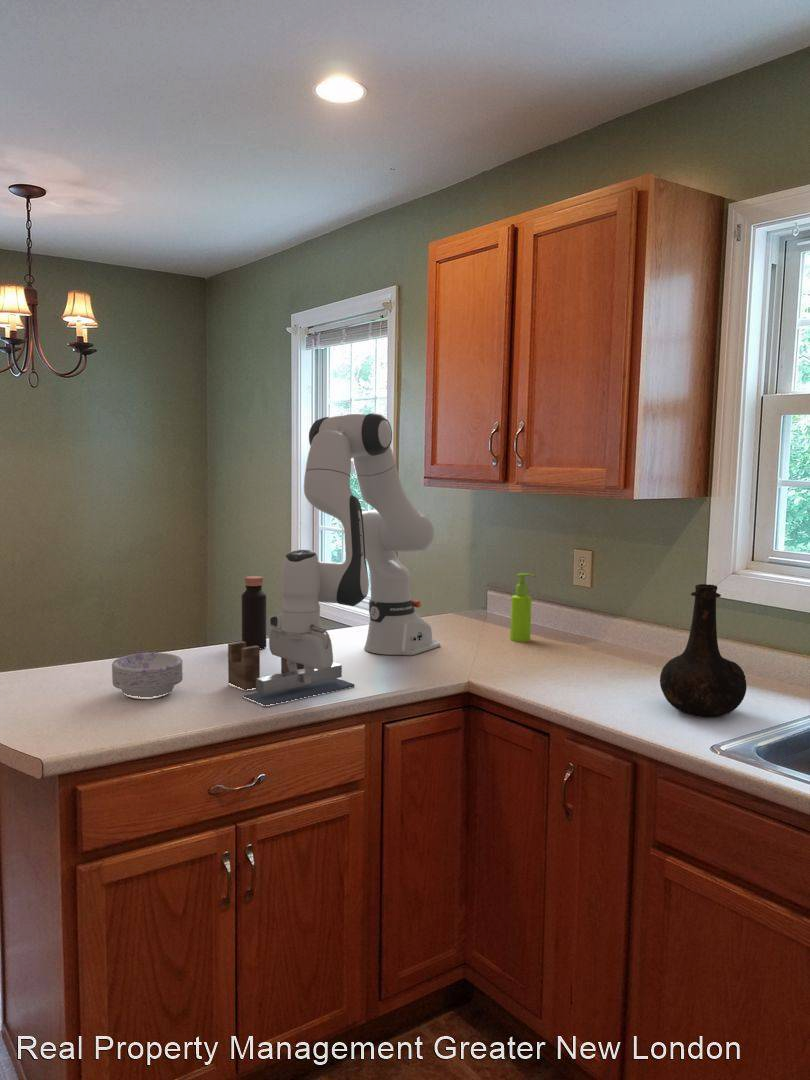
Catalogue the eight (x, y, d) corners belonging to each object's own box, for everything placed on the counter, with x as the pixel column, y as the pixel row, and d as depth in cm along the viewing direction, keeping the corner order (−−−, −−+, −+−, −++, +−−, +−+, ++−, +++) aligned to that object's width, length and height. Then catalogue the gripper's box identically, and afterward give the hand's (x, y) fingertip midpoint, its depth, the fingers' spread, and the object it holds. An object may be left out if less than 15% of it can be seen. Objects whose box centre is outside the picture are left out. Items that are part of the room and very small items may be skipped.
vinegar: (261, 651, 230) (260, 579, 228) (238, 649, 232) (237, 578, 230) (269, 645, 237) (269, 576, 235) (247, 644, 238) (247, 574, 236)
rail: (333, 674, 200) (333, 662, 200) (341, 677, 198) (341, 664, 198) (255, 691, 185) (255, 678, 185) (263, 694, 183) (263, 681, 183)
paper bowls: (155, 707, 179) (155, 671, 178) (97, 699, 184) (97, 664, 183) (196, 689, 193) (195, 655, 192) (141, 682, 198) (140, 649, 197)
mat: (331, 678, 203) (331, 676, 203) (354, 686, 197) (354, 684, 197) (242, 698, 186) (242, 695, 186) (265, 707, 180) (265, 704, 180)
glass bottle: (727, 731, 169) (735, 595, 166) (644, 712, 181) (650, 585, 178) (756, 711, 183) (764, 585, 180) (677, 695, 194) (683, 576, 191)
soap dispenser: (534, 642, 247) (537, 575, 245) (511, 641, 247) (513, 574, 245) (532, 637, 253) (534, 572, 250) (509, 637, 253) (511, 572, 251)
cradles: (294, 671, 209) (294, 632, 208) (311, 677, 204) (311, 637, 203) (228, 685, 197) (228, 643, 195) (245, 691, 191) (244, 649, 190)
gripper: (339, 627, 185) (339, 688, 186) (286, 613, 199) (286, 669, 201) (317, 631, 180) (316, 693, 182) (264, 616, 195) (264, 674, 197)
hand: (300, 680), depth 191 cm, fingers open, 3 cm apart
